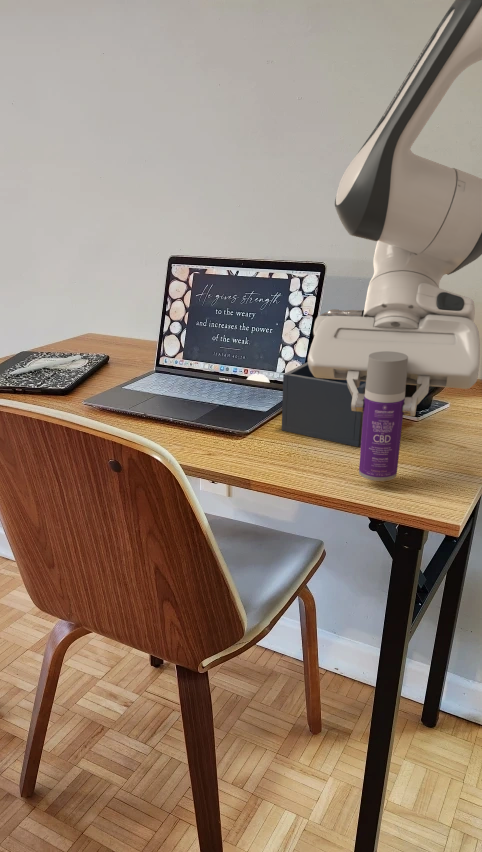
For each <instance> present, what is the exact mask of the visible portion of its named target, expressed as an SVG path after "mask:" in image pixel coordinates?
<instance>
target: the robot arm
mask: <svg viewBox="0 0 482 852" xmlns="http://www.w3.org/2000/svg"><path fill="white" fill-rule="evenodd" d="M480 61H482V0H454V1H453V3H452V4H451V6H450V7H449V8H448V9H447V12H446V13H445V15H443V17H442V19H441V21H440V22H439V24H438V25H437V27H436V28H435V30H434V31H433V32H432V35H431V36H430V37H429V39H428V41H427V42H426V43H425V45H424V47H423V49H422V50H421V52H420V54H419V55H418V57H417V59H416V60H415V62H414V63H413V65H412V67H411V68H410V70H409V72H408V73H407V75H406V76H405V78H404V80H403V81H402V83H401V85H400V87H399V88H398V90H397V91H396V93H395V95H394V96H393V97H392V99H391V101H390V103H389V105H388V106H387V108H386V109H385V111H384V113H383V114H382V116H381V117H380V119H379V120H378V122H377V124H376V126H375V127H374V128H373V130H372V132H371V133H370V135H369V136H368V138H367V139H366V140H365V142H364V143H363V145H362V146H361V147H360V148H359V150H358V152H357V153H356V154H355V156H354V157H353V159H352V160H351V161H350V163H349V164H348V165H347V167H346V169H345V170H344V172H343V174H342V176H341V179H340V181H339V183H338V186H337V190H336V195H335V199H334V207H335V211H336V214H337V217H338V218H339V221H340V223H341V224H342V226H343V227H344V229H345V230H346V232H347V234H348V235H349V236H352V237H355V238H359V239H364V240H368V241H373V242H376V244H375V249H374V253H373V260H372V265H373V275H372V277H371V279H370V281H369V283H368V287H367V292H366V297H365V303H364V307H363V308H364V309H346V310H341V309H337V308H334V309H333V308H332V309H328V311H327V312H323V313H321V314H319V315H318V316H317V317H316V318H315V320H314V324H313V329H312V334H313V339H312V342H311V344H310V348H309V351H308V355H307V362H308V366H309V369H310V371H311V373H312V374H313V376H314V377H316V378H324V379H338V380H347V385H348V389H349V391H350V393H351V395H352V403H351V409H352V411H357V412H363V410H364V396H365V394H362V393H359V392H358V390H357V388H358V387H359V385H360V381H366V378H367V368H368V359H369V355H370V354H371V353H375V352H383V351H390V352H399V353H403V354H405V355H407V356H408V363H407V376H406V386H407V385H410V386H416V390H415V392H414V393H413V394H412V396H405V399H404V405H403V409H402V413H403V417H404V416H406V417H413V418H414V417H416V412H417V406H418V405H419V404H420V403H421V402H422V400H424V398H425V397H426V396H427V395H428V394H429V391H430V387H434V388H435V387H436V388H450V389H452V388H453V389H462V390H467V389H468V390H469V389H470V388H472V387H473V386H474V385H476V383H477V381H478V378H479V371H480V362H481V340H480V339H481V338H480V333H479V328H478V326H477V324H476V322H475V312H476V311H475V309H476V308H475V301H474V299H472V298H471V297H468V296H465V295H461V294H458V293H454V292H452V291H448V290H446V289H443V288H441V287H440V283H441V280H442V278H443V277H444V276H445V275H447V276H449V275H452V274H454V273H457V272H458V271H460V270H461V269H463V268H464V267H467V266H468V265H469V264H471V263H473V262H474V261H476V260H478V259H479V258H480V257H481V256H482V177H479V176H476V175H475V174H474V175H473V174H471V173H469V172H466V171H463V170H462V169H461V170H460V169H459V168H455V167H449V166H447V165H444V164H441V163H439V162H436V161H434V160H432V159H431V160H430V159H429V158H426V157H423V156H420V155H417V154H415V153H414V152H413V151H412V150H411V148H412V146H413V145H414V143H415V142H416V140H417V139H418V138H419V136H420V134H421V132H422V131H423V129H424V128H425V126H426V125H427V123H428V121H429V120H430V118H431V117H432V115H433V114H434V113H435V111H436V110H437V108H438V106H439V105H440V103H441V101H442V100H443V99H444V97H445V95H446V94H447V92H448V91H449V89H451V86H452V85H453V83H454V82H455V81H456V80H457V78H458V77H459V76H460V75H461V74H462V73H463V72H464V71H465V70H466V69H468V68H469V67H471V66H472V65H474V64H476V63H478V62H480Z"/></svg>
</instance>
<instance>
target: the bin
mask: <svg viewBox="0 0 482 852" xmlns="http://www.w3.org/2000/svg"><path fill="white" fill-rule="evenodd" d="M282 374H283V375H282V401H281V402H282V406H281V407H282V409H281V431H283V432H288V433H292V434H297V435H302V436H307V437H311V438H315V439H320V440H325V441H330V442H334V443H339V444H343V445H346V446H347V445H348V446H352V447H357V448H359V447H361V436H362V423H363V412H357V411H352V409H351V403H352V395H351V393H350V391H349V389H348V385H347V380H338V379H324V378H316V377H314V376H313V374H312V373H311V371H310V369H309V366H308V361H307V362H305V363H303V364H301V365H299V366H297V367H294V368H293V369H291V370H289V371H288V372H284V373H282ZM365 388H366V381H360V385H359V387H358V388H357V390H358V392H359V393H362V394H365Z"/></svg>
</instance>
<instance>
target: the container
mask: <svg viewBox="0 0 482 852" xmlns="http://www.w3.org/2000/svg"><path fill="white" fill-rule="evenodd" d="M407 363H408V356H407V355H405V354H403V353H399V352H390V351H383V352H375V353H371V354H370V355H369V359H368V368H367V378H366V388H365V396H364V410H363V423H362V436H361V445H360V451H359V452H360V453H359V464H358V474H359V476H360V477H362V478H363V479H366V480H369V481H374V482H386V481H387V482H388V481H392V480H393V479H395V478H396V477H397V475H398V467H399V457H400V456H399V455H400V450H401V449H400V447H401V438H402V431H403V430H402V429H403V428H402V427H403V420H404V415H403V413H402V409H403V405H404V399H405V397H406V390H407V389H406V388H407V384H406V376H407Z"/></svg>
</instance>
